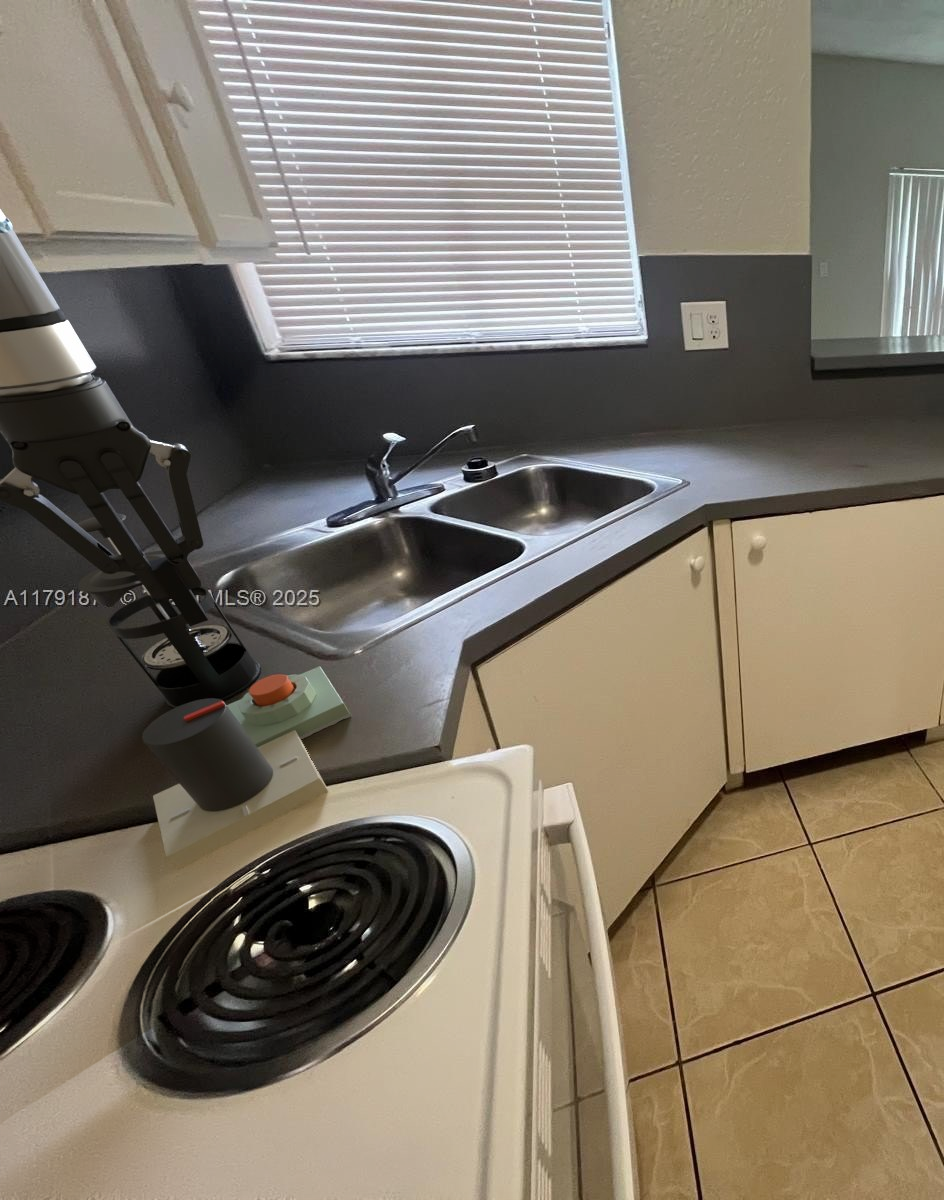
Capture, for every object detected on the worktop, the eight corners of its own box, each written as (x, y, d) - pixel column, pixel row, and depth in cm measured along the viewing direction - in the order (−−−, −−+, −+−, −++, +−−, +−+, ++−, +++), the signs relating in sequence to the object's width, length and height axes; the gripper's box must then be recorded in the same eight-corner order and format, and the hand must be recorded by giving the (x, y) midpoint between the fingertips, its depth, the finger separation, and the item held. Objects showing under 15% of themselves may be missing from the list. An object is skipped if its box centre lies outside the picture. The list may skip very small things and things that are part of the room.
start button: (253, 696, 71) (245, 685, 70) (290, 681, 73) (283, 669, 72) (260, 711, 69) (252, 699, 68) (298, 695, 71) (291, 683, 70)
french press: (272, 683, 78) (164, 517, 66) (177, 725, 73) (38, 552, 60) (247, 647, 85) (144, 490, 72) (158, 683, 79) (28, 519, 66)
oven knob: (203, 822, 59) (143, 753, 53) (193, 788, 62) (136, 720, 57) (279, 784, 62) (229, 716, 57) (265, 754, 66) (217, 687, 61)
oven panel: (164, 808, 63) (151, 793, 62) (303, 742, 70) (293, 728, 69) (178, 871, 57) (164, 856, 56) (329, 791, 64) (319, 777, 63)
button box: (230, 721, 73) (211, 695, 71) (327, 679, 79) (313, 654, 77) (248, 766, 67) (228, 739, 65) (351, 716, 73) (336, 691, 71)
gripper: (138, 361, 57) (264, 580, 70) (-79, 391, 50) (108, 631, 63) (148, 374, 53) (281, 605, 66) (-88, 410, 45) (115, 663, 58)
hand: (197, 617), depth 64 cm, fingers closed
